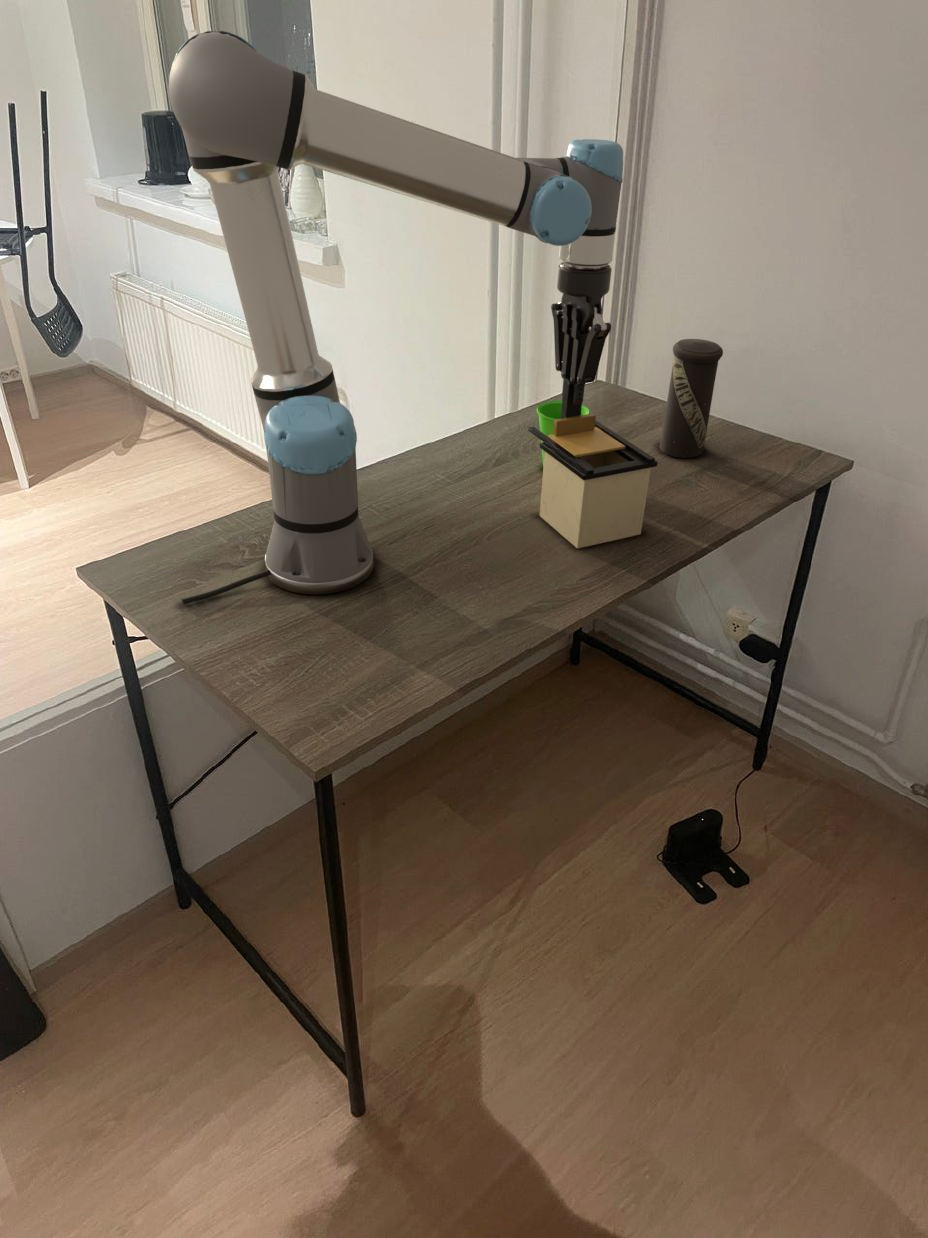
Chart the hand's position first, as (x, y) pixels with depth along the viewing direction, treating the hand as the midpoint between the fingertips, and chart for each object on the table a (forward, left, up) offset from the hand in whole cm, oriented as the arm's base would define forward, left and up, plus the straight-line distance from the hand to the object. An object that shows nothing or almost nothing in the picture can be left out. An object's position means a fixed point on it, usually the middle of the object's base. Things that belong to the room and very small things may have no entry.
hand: (570, 421), depth 142 cm
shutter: (0, -5, -2) cm, 5 cm away
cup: (+6, +12, -14) cm, 19 cm away
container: (+32, +11, -14) cm, 37 cm away
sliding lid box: (0, -6, -14) cm, 15 cm away
